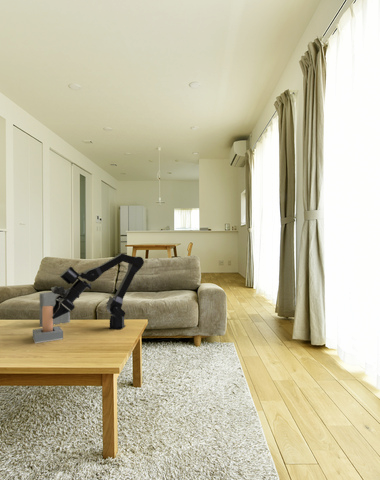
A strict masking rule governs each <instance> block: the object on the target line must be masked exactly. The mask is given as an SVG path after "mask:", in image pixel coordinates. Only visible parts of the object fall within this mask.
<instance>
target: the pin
mask: <svg viewBox="0 0 380 480" xmlns="http://www.w3.org/2000/svg"><path fill="white" fill-rule="evenodd" d="M52 317H53V306H43V307H42V327H41V328H42V333H43V332H50V331H53V327H54V325H53V318H52Z"/></svg>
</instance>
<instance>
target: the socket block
mask: <svg viewBox="0 0 380 480" xmlns="http://www.w3.org/2000/svg"><path fill="white" fill-rule="evenodd" d="M32 339H33V341H34V344H38V343H45V342H47V343H48V342H52V341H58V340H59V341H60V340H63V339H64V330H63V329H62V328H61V326H58V325H57V326H53V331H50V332H43V333H42V327H40V328H34V329H32Z"/></svg>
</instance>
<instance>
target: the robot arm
mask: <svg viewBox="0 0 380 480" xmlns="http://www.w3.org/2000/svg"><path fill="white" fill-rule="evenodd" d="M121 263H127V264H128V265H127V271H126V273H125V275H124V276H123V279H122V280H121V283H120V284H119V286H118V288H117V290H116V293H115V294H114V295H113V296H109V298H108V300H107V302H106V306H105V307H106V310H107V312H109V314H110V317H109V330H123V328H125V327H126V325H125V317H126V316H125V315H126V312H125V311H124V310H123V308H122V306H123V304H124V303H123V301H124V298H125V296H126V294H127V292H128V290H129V288H130V285H132V282H133V279H135V276H136V274H137V273H138V272H139V271H140V270H141V268H142V267H143V266H144V264H145V261H144V258H143V257H142V256H133V255H132V256H131V255H128V254H125V253H119V254H118V255H116V256H114V257H112V258H111V259H109V260H107V261H105V262H104V263H102V264H100V265H98V266H94V267H91V268H87V269H86V270H85V271H83V272H79V273H78V272H77V271H76V270H75V269H74V268H73V267H72V266H69V267H68V268H66V269H65V270H63V272H61V274H60V275H59V278H61V279H62V280H63V281H64V282H65V283H67V284H68V285H71V287H68V288H66V289H65V287H64V286H61V285H60V286H56V285H54V289H53V291H52V290H51V292H53V293H54V294H59V295H57V296H56V297H55V298H56V299H57V300H56V299H55V305H54V307H53V314H54V315H53V317H52V318H53V319H55V318H57V317H59V316H61V315H63V314H65V313H68V312H70V313H71V312H72V311H73V310H74V309H75V304H74V302H75V301H76V300H77V299H79V298H80V296H81V294H83V292H84V291H85V290H86V289H88V290H91V289H92V283H93V282H95V281H96V280H97V279H99V278H100V277H101V276H102V275H103V274H104V273H105V272H107V271H109V270H111V269H112V268H115V266H118V265H119V264H121ZM89 282H91V283H89ZM69 309H70V311H69Z"/></svg>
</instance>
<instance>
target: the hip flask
mask: <svg viewBox="0 0 380 480" xmlns="http://www.w3.org/2000/svg"><path fill="white" fill-rule="evenodd" d="M54 287H55V286H54ZM54 287H53V286H52V287H51V288H50V289H51V291H50V292H48V291H47V292H40V293H39V327H40V328H42V307H43V306H53V307H54V305H55V299H56V298H55V297H56V296H57V295H59V294H54V293H53V292H52V291H53V289H54ZM56 300H57V299H56ZM69 311H70V312H68V313H65V314H63V315H61V316H59V317H57V318H55V319H53V326H54V324H55V325H61V324H60V323H62V324H67V323H71V310H70V309H69ZM53 315H54V314H53Z"/></svg>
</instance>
